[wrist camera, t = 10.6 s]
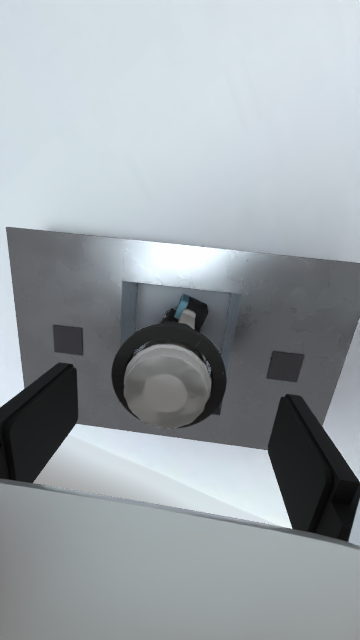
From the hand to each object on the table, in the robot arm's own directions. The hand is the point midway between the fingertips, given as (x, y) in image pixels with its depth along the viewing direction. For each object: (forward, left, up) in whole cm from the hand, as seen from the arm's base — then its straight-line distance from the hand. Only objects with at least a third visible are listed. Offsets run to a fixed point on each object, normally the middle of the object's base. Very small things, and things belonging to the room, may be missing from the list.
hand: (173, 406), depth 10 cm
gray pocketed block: (0, 0, -10) cm, 9 cm away
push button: (+1, 0, -10) cm, 10 cm away
